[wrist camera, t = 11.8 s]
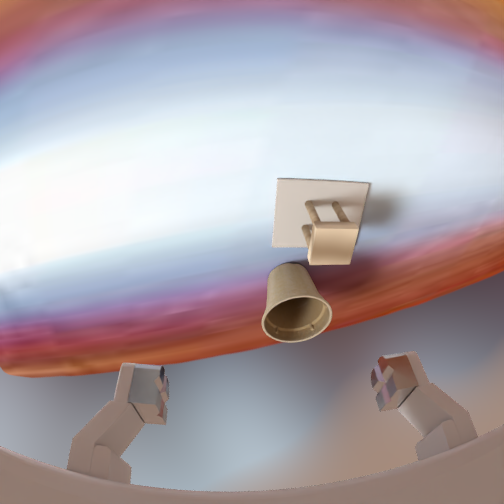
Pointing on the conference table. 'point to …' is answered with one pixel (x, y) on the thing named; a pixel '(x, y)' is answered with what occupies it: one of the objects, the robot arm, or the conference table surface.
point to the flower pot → (294, 305)
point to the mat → (322, 196)
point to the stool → (329, 237)
